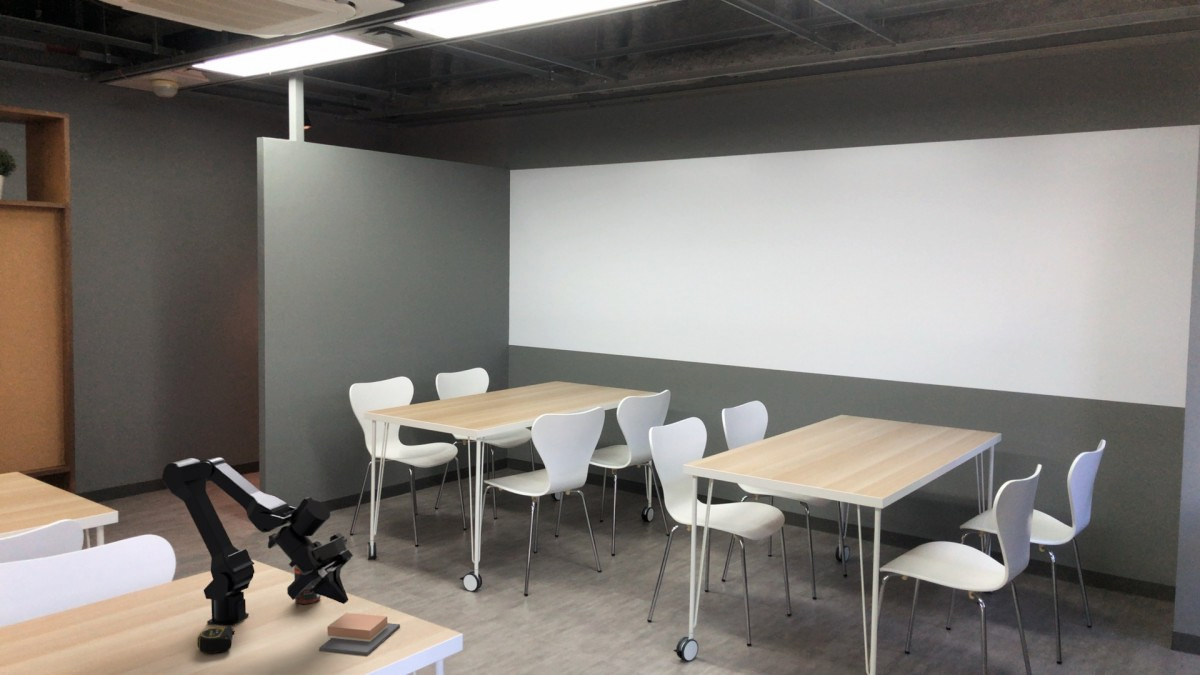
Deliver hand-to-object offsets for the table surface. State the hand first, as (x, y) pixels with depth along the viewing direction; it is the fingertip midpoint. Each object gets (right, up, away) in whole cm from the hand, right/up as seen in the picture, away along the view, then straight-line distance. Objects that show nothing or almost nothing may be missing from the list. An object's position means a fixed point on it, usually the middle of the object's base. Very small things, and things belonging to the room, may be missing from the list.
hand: (346, 602), depth 185 cm
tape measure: (-25, -8, -7) cm, 27 cm away
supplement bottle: (-15, -6, +20) cm, 26 cm away
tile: (-2, -5, +1) cm, 6 cm away
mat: (+4, -7, -2) cm, 8 cm away
